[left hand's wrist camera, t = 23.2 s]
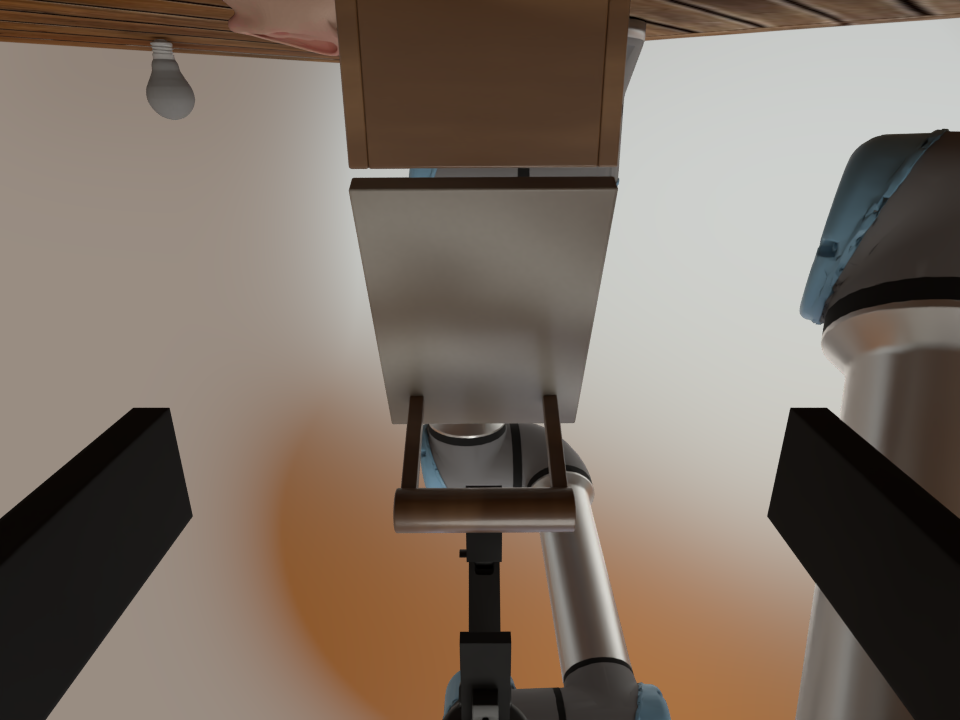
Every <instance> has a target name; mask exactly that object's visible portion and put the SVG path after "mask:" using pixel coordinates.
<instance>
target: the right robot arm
mask: <svg viewBox="0 0 960 720" xmlns="http://www.w3.org/2000/svg"><path fill="white" fill-rule="evenodd" d="M645 31H646V23H645V22H644V21H641V20H637V19H631V18H629V27H628V40H627V53H626V65H625V78H624V91H623V104H624V96H625V92H626V89H627V87H628V84H629V81H630V79H631V76H632V73H633V71H634V68H635V65H636V63H637V60H638V57H639V55H640V52H641V49H642V47H643V43H644V41H645ZM623 104H622V115H623ZM621 131H622V116H621V129H620V142H619V155H618V165H617V167H598V166H597V167H570V168H410V172H409V178H414V177H576V176H613V177H615V181H616V184H617V185H618V184H619V178H618V171H619V158H620V144H621ZM562 442H563V450H564V459H565V467H566V476H567V484H568V487H571V488H573V491H574V495H575V502H576V526H575V530H574V532H540V538H541V544H542V551H543V557H544V563H545V570H546V576H547V582H548V589H549V595H550V602H551V608H552V615H553V621H554V627H555V634H556V640H557V647H558V653H559V659H560V666H561V672H562V679H563V683H564V688H533V689H516V687H515V685H514V682H513V679H512V678H511V632H500V567H499V562H502V532H492V533H466V548H467V550H460V557H467V562H469V632H460V671H459V672H457V673H456V674H455V675H454V676H453V677H452V679H451V680H450V682H449V684H448V686H447V689H446V695H445V707H444V716H443V720H671V718H670V714H669V710H668V706H667V703H666V701H665V699H664V698H663V696H662V693H661V691H660V690H659V689H658V688H657V687H656V686H654V685H652V684H643V683H642V682H641V683H636V680H635V678H634V674H633V671H632V667H631V663H630V660H629V655H628V652H627V648H626V644H625V640H624V636H623V632H622V628H621V624H620V620H619V616H618V612H617V608H616V604H615V600H614V596H613V592H612V588H611V585H610V581H609V576H608V573H607V569H606V565H605V561H604V557H603V553H602V549H601V545H600V541H599V537H598V533H597V529H596V525H595V521H594V517H593V513H592V510H591V504H592V502H593V499H594V489H593V485H592V482H591V478H590V475H589V473H588V470H587V468H586V466H585V465H584V463H583V461H582V460H581V459H580V457H579V455H578V454H577V453H576V452H575V451H574V450H573V449H572V448H571V447H570V445H569V444H568V443H567V442H565V441H564V440H563V439H562ZM421 467H422V473H423V478H424V482H425V486H426V488H509V487H550V477H549V467H548V457H547V446H546V436H545V428H544V427H542V426H539V425H537V424H533V423H492V424H425V425H423V431H422V445H421Z"/></svg>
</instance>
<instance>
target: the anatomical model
mask: <svg viewBox="0 0 960 720" xmlns="http://www.w3.org/2000/svg"><path fill="white" fill-rule="evenodd" d="M223 1H224V2H225V3H226V4H228V5H229V6H230V7H231V8H232V9H233V10H234V11H235V14H234V15H233V16H232V17H231V18H230V19H229V21H228V26H229V29H230V30H231V31H233V32H236V33H241V34H247V35H251V36H255V37H258V38H262V39H266V40H269V41H273V42H277V43H281V44H285V45H289V46H293V47H296V48H300V49H304V50H307V51H311V52H315V53H319V54H323V55H329V56H337V55H339V45H338V34H337V30H336V27H337V22H336V10H335V0H223Z"/></svg>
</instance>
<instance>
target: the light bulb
mask: <svg viewBox="0 0 960 720" xmlns="http://www.w3.org/2000/svg"><path fill="white" fill-rule="evenodd" d="M150 44H151V45H152V48H153V50H152V51H153V54H152V55H153V61H152V73H151V76H150V79H149V82H148V85H147V89H146V95H147V100H148V102H149V104H150V105H151V107H152V108H153V109H154V110H155V111H156V112H157V113H158V114H159V115H161V116H162V117H165V118H168V119H172V120H178V119H182V118H184V117H186V116H188V115H189V114H190V112H191V111H192V109H193V107H194V103H195V97H194V93H193V90H192V88H191V87H190V85H189V84H188V82H187V81H186V80H185V78H184V77H183V75H182V74H181V72H180V70H179V66H178V64H177V62H176V61H175V58H174V55H172V54H173V53H174V52H172V50H173V49H171V47H172V44H171V43H170V42H168V41H166V40H164V39H156V40H154V41H153V42H151V43H150Z"/></svg>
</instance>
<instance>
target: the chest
mask: <svg viewBox="0 0 960 720" xmlns="http://www.w3.org/2000/svg"><path fill="white" fill-rule="evenodd" d="M630 2H631V0H335V10H336V22H337V34H338V45H339V57H340V68H341V80H342V92H343V104H344V116H345V127H346V139H347V151H348V162H349V168H351V169H367V168H370V169H406V168H407V169H408V168H570V167H597V166H598V167H617V165H618V155H619V142H620V129H621V116H622V104H623V91H624V78H625V65H626V53H627V40H628V27H629V14H630Z"/></svg>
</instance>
